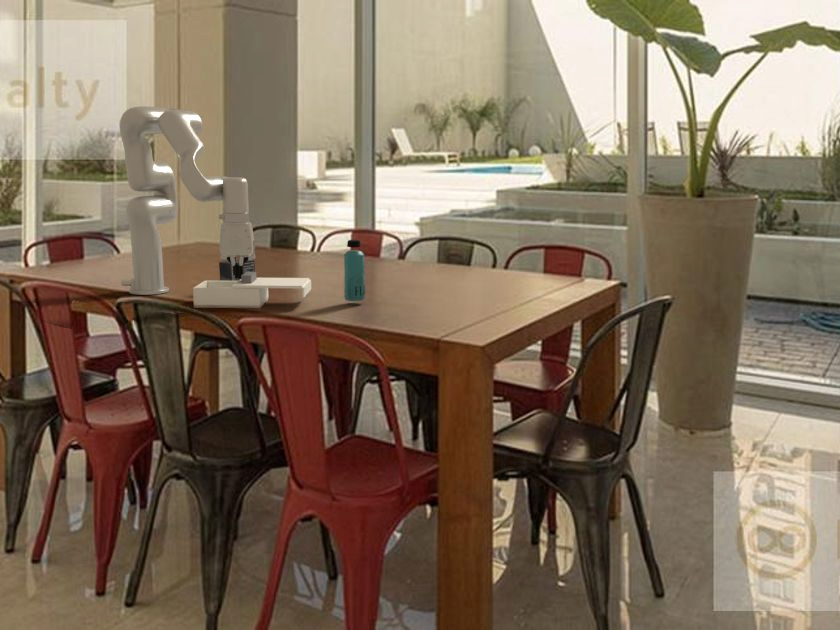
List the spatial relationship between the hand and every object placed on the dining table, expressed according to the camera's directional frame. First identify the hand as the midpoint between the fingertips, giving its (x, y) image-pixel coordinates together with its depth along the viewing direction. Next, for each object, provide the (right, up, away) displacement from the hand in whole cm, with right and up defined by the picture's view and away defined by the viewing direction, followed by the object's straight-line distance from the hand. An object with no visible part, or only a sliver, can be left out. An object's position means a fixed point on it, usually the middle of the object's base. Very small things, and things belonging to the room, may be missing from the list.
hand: (238, 278), depth 274 cm
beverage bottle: (+36, -8, +2) cm, 37 cm away
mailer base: (-2, -8, +2) cm, 8 cm away
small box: (-5, -4, +23) cm, 24 cm away
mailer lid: (+10, -5, +1) cm, 11 cm away
